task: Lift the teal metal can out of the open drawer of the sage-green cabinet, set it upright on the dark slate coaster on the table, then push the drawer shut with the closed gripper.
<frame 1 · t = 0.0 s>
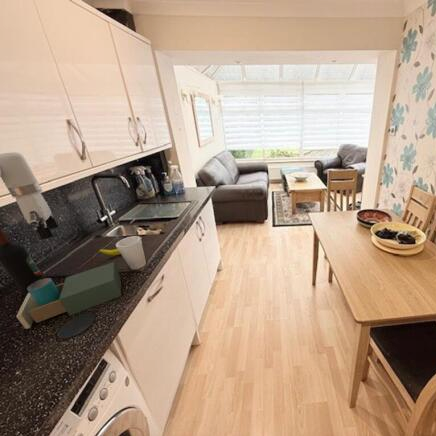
hand: (50, 232, 90), 25 cm above the countertop, tool pointing down, fingers open, 9 cm apart
wine bottle: (37, 290, 100), on the countertop
coaster: (77, 325, 80), on the countertop
cabinet: (97, 294, 94), on the countertop
banana: (125, 252, 122), on the countertop
drawer: (51, 301, 87), point 4 cm above the countertop, slide at 10.0 cm, touching can
can: (54, 305, 87), point 2 cm above the countertop, touching drawer
foam cup: (138, 265, 111), on the countertop
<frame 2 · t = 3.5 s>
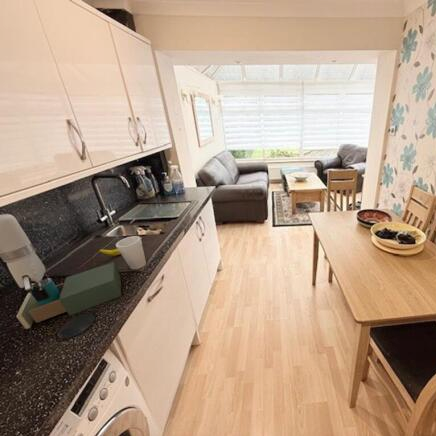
hand: (45, 293, 85), 8 cm above the countertop, tool pointing down, fingers closed on can, 6 cm apart
can: (54, 305, 87), point 2 cm above the countertop, touching drawer, gripper
everything else where it was.
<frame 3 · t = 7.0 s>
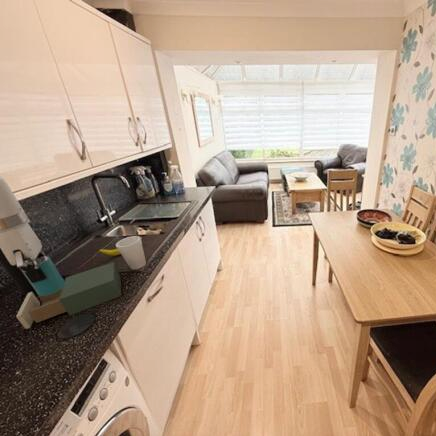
hand: (42, 274, 72), 22 cm above the countertop, tool pointing down, fingers closed on can, 6 cm apart
drawer: (51, 301, 87), point 4 cm above the countertop, slide at 10.0 cm
can: (52, 288, 74), point 16 cm above the countertop, touching gripper
everything else where it was.
when the fingers open (6 cm above the countertop, at t = 10.9 s): can stays where it is, resting on coaster.
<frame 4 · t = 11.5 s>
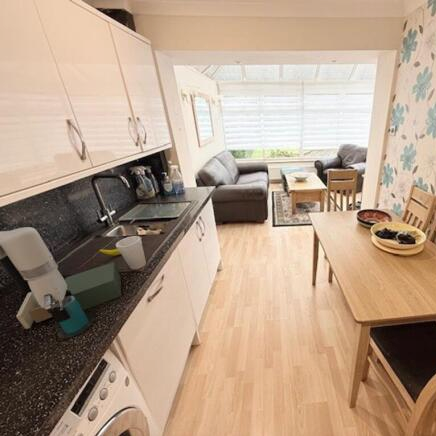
hand: (66, 310, 77), 7 cm above the countertop, tool pointing down, fingers open, 9 cm apart
can: (76, 325, 80), resting on coaster
everything else where it was.
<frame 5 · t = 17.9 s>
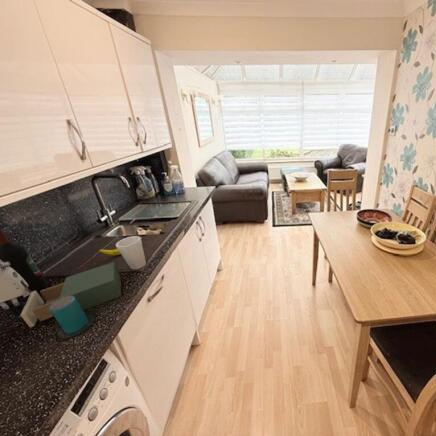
hand: (20, 313, 83), 4 cm above the countertop, tool pointing down, fingers closed
drawer: (55, 300, 87), point 4 cm above the countertop, slide at 9.0 cm, touching gripper
everything else where it was.
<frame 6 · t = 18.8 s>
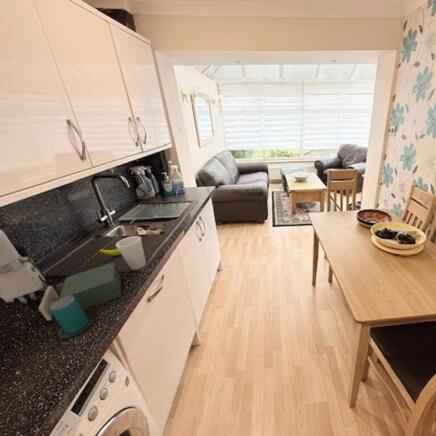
hand: (37, 307, 85), 4 cm above the countertop, tool pointing down, fingers closed
drawer: (70, 294, 89), point 4 cm above the countertop, slide at 4.6 cm, touching gripper
everything else where it was.
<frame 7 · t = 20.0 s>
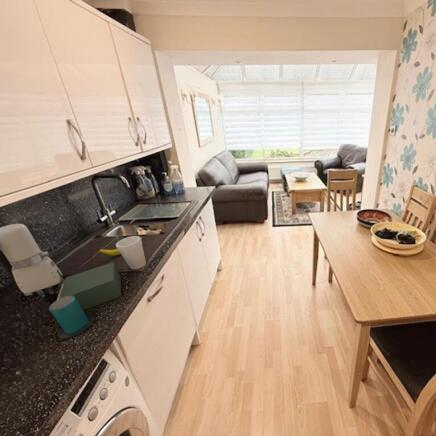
hand: (54, 301, 87), 4 cm above the countertop, tool pointing down, fingers closed
drawer: (85, 289, 91), point 4 cm above the countertop, slide at 0.0 cm, touching cabinet, gripper
everything else where it was.
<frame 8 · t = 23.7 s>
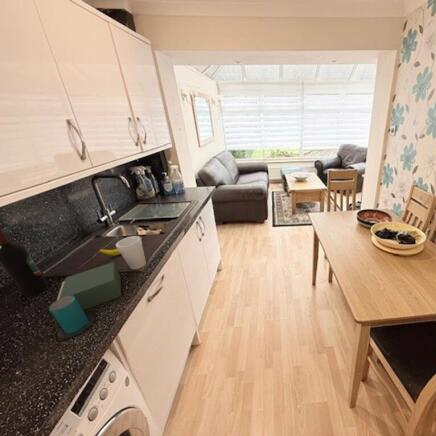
drawer: (85, 289, 91), point 4 cm above the countertop, slide at 0.0 cm, touching cabinet
everything else where it was.
at the end: can 0.0 cm off-centre on the coaster, point 0.4 cm above the coaster's base; can tilted 0°; drawer slide at 0.0 cm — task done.
